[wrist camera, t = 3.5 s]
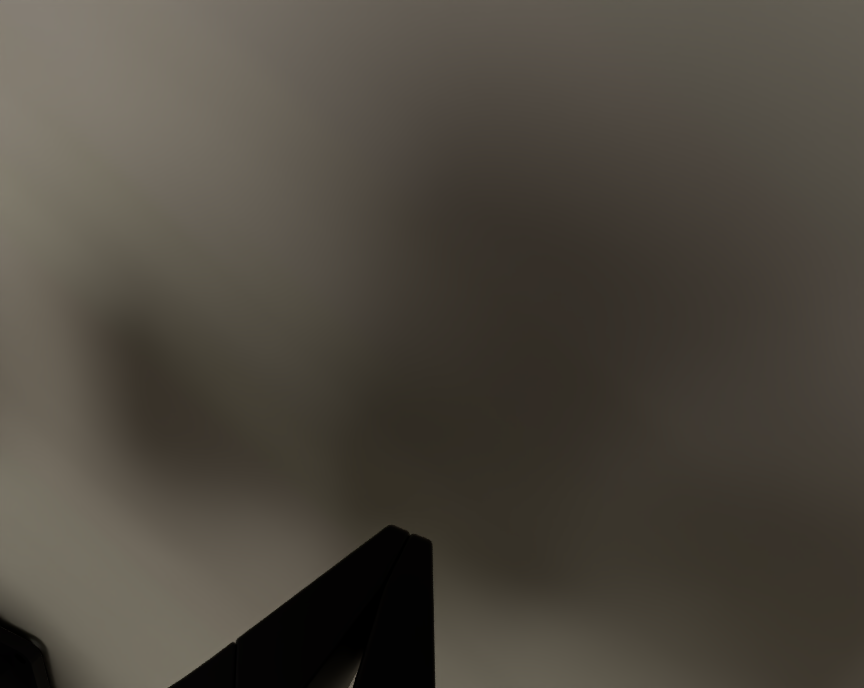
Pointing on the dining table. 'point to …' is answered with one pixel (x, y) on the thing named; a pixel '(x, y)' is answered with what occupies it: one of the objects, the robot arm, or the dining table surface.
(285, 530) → the dining table surface
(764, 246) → the dining table surface
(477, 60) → the dining table surface
